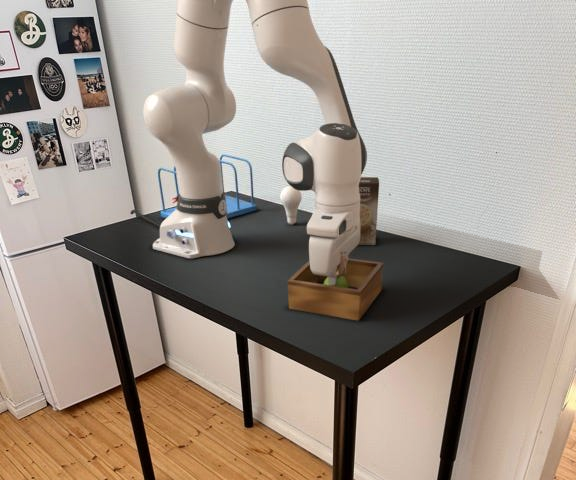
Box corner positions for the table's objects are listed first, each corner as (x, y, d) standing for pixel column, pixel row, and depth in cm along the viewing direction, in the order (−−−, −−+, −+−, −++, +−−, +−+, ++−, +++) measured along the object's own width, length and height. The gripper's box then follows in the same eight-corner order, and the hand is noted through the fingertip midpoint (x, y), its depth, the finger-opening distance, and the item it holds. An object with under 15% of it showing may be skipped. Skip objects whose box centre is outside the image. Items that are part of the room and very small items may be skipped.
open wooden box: (288, 308, 117) (286, 280, 114) (316, 280, 129) (316, 253, 125) (359, 321, 111) (360, 292, 108) (382, 290, 123) (383, 262, 119)
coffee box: (341, 245, 147) (342, 183, 138) (341, 237, 152) (342, 176, 143) (376, 245, 146) (379, 182, 137) (375, 237, 151) (378, 176, 142)
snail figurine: (330, 307, 117) (331, 254, 110) (319, 295, 122) (319, 243, 115) (354, 303, 118) (356, 249, 111) (341, 290, 123) (343, 239, 116)
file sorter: (192, 230, 162) (184, 176, 153) (160, 218, 173) (152, 166, 164) (257, 210, 175) (254, 159, 167) (224, 200, 186) (219, 151, 177)
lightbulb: (278, 227, 161) (277, 188, 155) (285, 220, 166) (283, 183, 160) (299, 228, 159) (297, 189, 153) (304, 221, 164) (303, 183, 158)
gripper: (340, 198, 119) (339, 259, 126) (302, 228, 103) (304, 296, 111) (368, 201, 116) (366, 263, 124) (334, 232, 101) (333, 301, 109)
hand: (336, 279), depth 118 cm, fingers closed on snail figurine, 3 cm apart
